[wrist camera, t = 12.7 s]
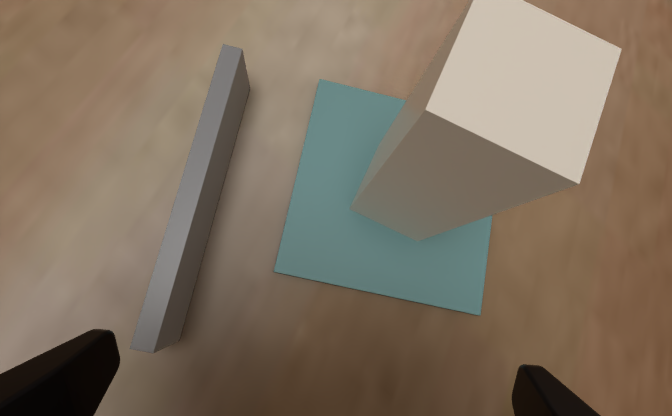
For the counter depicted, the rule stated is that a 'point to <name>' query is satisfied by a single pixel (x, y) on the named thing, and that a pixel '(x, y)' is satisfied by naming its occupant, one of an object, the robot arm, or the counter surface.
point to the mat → (361, 232)
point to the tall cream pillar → (490, 121)
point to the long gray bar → (194, 206)
